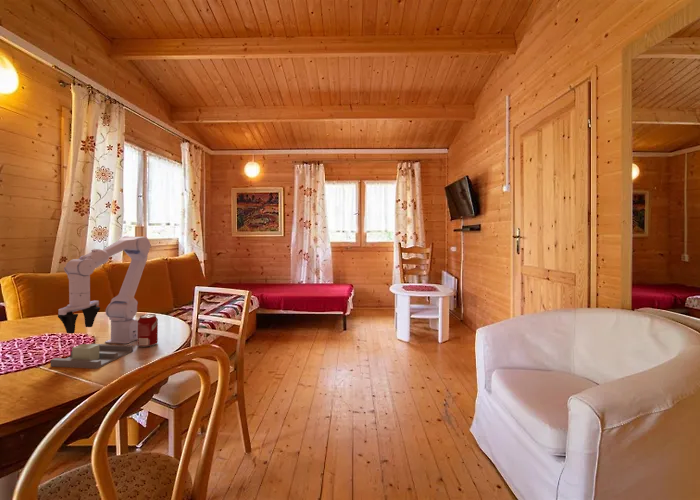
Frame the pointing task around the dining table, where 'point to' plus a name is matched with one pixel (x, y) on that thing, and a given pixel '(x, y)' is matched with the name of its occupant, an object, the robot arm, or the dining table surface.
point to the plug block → (86, 352)
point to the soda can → (147, 330)
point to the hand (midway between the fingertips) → (80, 329)
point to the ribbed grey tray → (105, 356)
